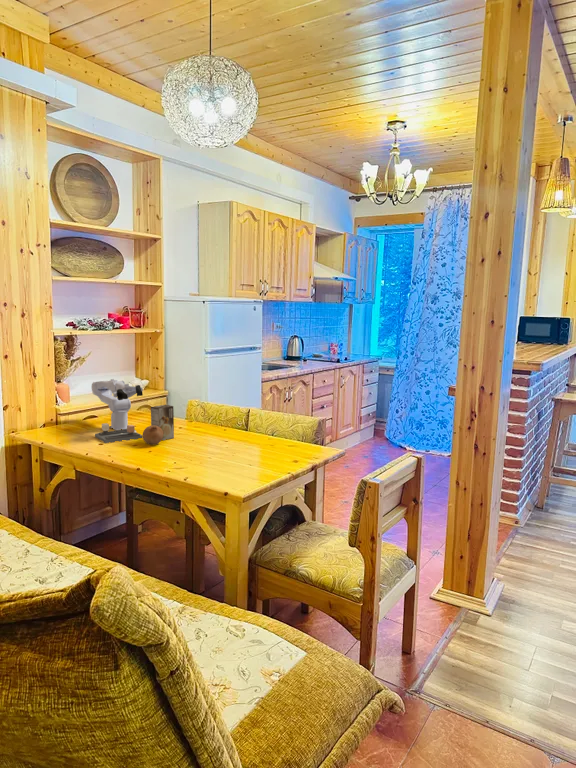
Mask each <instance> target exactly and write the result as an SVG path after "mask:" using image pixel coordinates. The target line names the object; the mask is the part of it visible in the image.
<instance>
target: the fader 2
mask: <svg viewBox="0 0 576 768" xmlns="http://www.w3.org/2000/svg"><path fill="white" fill-rule="evenodd" d="M134 430H135V425H133V424H128V425H127V432H129V435H133V432H134Z"/></svg>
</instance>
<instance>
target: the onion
mask: <svg viewBox="0 0 576 768" xmlns="http://www.w3.org/2000/svg"><path fill="white" fill-rule="evenodd" d="M162 438H163V431H162V429H161V428H160V427H158V426H155V425H152V426H151V425H149V426H147V427H145V428H144V430H143V432H142V439H143V442H145V444H147V445H150V446H151V445H152V446H153V445H158V444H159V443H160V442H162V441H161V440H162Z"/></svg>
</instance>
